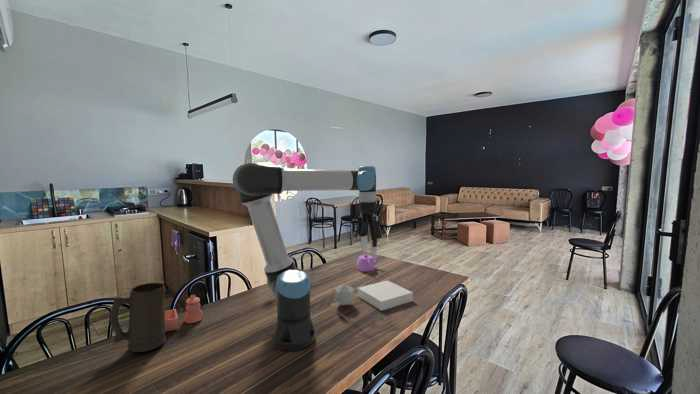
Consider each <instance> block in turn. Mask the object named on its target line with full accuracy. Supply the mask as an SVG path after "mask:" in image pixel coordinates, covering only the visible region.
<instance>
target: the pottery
mask: <svg viewBox="0 0 700 394" xmlns="http://www.w3.org/2000/svg"><path fill="white" fill-rule="evenodd" d="M200 301H201V299H200V297H197V296H196V294H191V295H190V297H189V298H187V299H186V300H185V303H186V305H185V310H186V312H185V313H184V315H183V320H184V323H186V324H195V323H198V322H199V321H201V320H203V319H202V318H203V315H204V314H203V311H202V309H201V303H200ZM165 329H166V332H165V333H167V332H170V331H171V332H172V331H175V330H178V329H179V318H178V313H177V309H176V308H174V309H170V310H169V309H168V310H165Z"/></svg>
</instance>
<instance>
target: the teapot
mask: <svg viewBox="0 0 700 394" xmlns="http://www.w3.org/2000/svg"><path fill="white" fill-rule="evenodd" d="M380 256H381V254H377V255H376V256H375V259H374V258H373V256H372V255H371V254H370V255H369V254H367V253H364V254H363V255H359V256H358V258H357V260H356V268H357V270H358V271H359V272H363V273H368V272H374V271H375V269H376V265H377V264H378V260H379V257H380Z"/></svg>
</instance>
